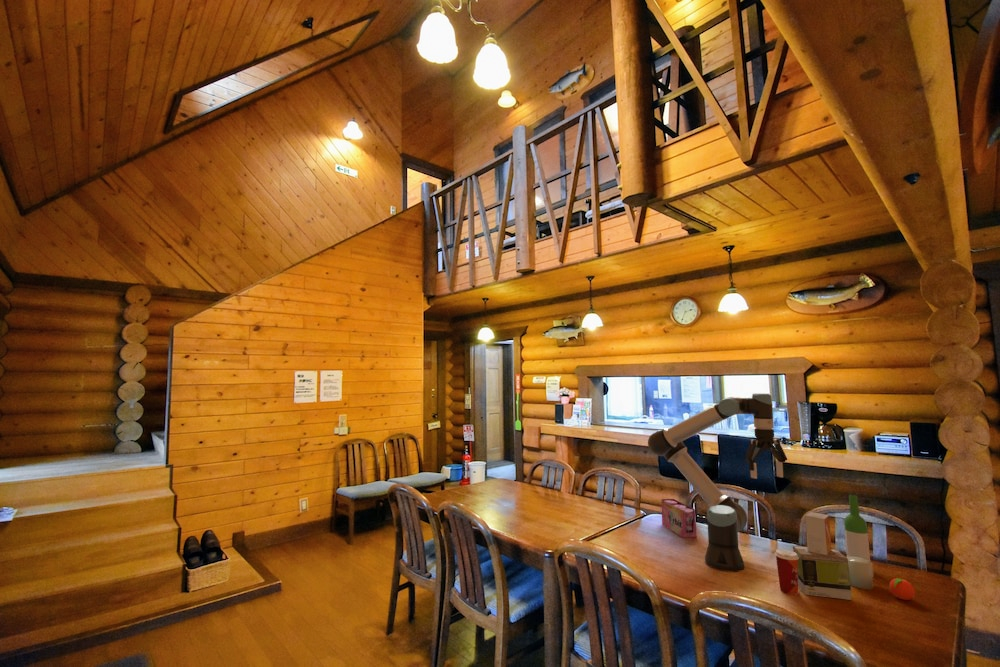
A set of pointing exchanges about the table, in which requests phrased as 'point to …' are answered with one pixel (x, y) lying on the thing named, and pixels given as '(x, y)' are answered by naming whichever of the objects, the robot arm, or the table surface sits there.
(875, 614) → the table surface
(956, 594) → the table surface
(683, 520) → the gum box
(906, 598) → the strawberry
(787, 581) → the paper cup
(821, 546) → the small box
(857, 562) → the sage mug
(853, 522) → the wine bottle
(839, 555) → the tea box
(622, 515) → the table surface
